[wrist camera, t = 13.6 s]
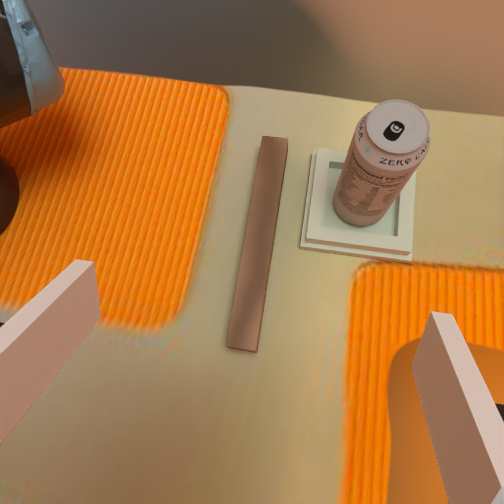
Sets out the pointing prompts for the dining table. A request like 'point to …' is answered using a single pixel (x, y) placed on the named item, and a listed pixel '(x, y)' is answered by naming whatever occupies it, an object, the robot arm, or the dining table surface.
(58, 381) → the dining table surface
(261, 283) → the walnut sill
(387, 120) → the energy drink can
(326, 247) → the keeper plate
